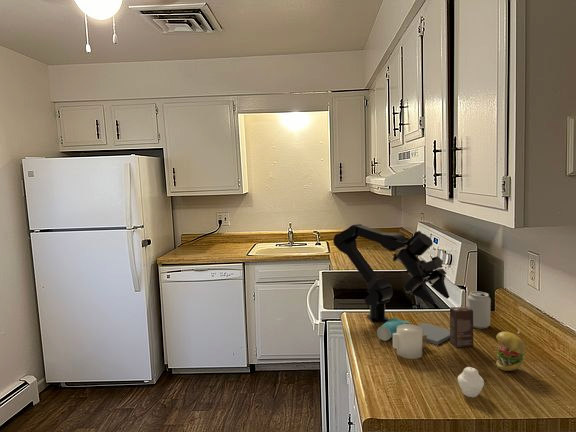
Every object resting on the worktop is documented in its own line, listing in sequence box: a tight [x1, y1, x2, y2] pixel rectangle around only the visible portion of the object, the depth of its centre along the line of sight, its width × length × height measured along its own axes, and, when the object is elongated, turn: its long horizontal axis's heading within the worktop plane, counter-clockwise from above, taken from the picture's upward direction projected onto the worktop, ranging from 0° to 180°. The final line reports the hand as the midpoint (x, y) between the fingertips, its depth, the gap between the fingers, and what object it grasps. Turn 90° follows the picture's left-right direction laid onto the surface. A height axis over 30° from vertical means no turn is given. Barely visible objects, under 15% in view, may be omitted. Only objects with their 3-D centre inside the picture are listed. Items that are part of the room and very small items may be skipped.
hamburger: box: [495, 329, 526, 372], centre depth 116 cm, size 8×7×12 cm
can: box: [467, 290, 492, 330], centre depth 149 cm, size 8×8×12 cm
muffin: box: [457, 366, 485, 398], centre depth 104 cm, size 6×6×7 cm
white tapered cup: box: [392, 323, 423, 360], centre depth 127 cm, size 9×8×8 cm
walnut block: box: [422, 333, 428, 349], centre depth 133 cm, size 4×4×4 cm
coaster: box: [417, 322, 450, 346], centre depth 142 cm, size 12×12×1 cm
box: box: [449, 305, 474, 348], centre depth 133 cm, size 6×4×12 cm
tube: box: [376, 317, 411, 342], centre depth 145 cm, size 7×5×19 cm
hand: (441, 300), depth 137 cm, fingers open, 9 cm apart
